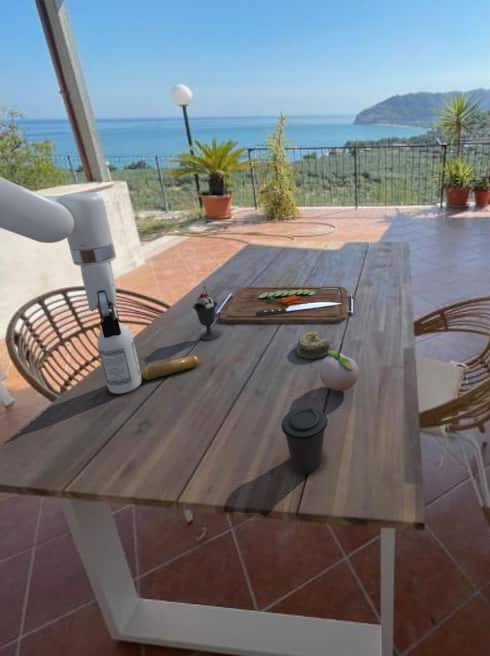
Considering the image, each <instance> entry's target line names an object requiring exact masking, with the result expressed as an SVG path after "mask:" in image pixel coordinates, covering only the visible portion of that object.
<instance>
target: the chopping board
mask: <svg viewBox="0 0 490 656" xmlns="http://www.w3.org/2000/svg"><path fill="white" fill-rule="evenodd" d="M321 288H338V289H321ZM341 289H342V290H343V293H342V290H341ZM347 291H348V290H347V288H346V287H343V286H244V287H243V286H242V287H240V288H238V289H237V291H235V293H234V294H233V293H231V292H230V293H229V294H228V295H227V297H226V298H225V300H224V301H223V302H222V303H221V305H220V307H218V309H217V310H216V311H215V316H218V315H219V314H220V315H219V321H220V323H222V324H339V323H342V322H344V321H345V320H346V318H347V313H350V314H351V315H353V314H354V298H353V299H352V293H353V292H351V294H347V293H348V292H347ZM339 293H340V295H339ZM231 297H232V298H231ZM347 297H350V302H351V303H350V310H347ZM230 298H231V299H230ZM223 308H224V309H223ZM222 309H223V310H222Z"/></svg>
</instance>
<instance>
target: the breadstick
mask: <svg viewBox="0 0 490 656" xmlns="http://www.w3.org/2000/svg"><path fill="white" fill-rule="evenodd" d="M199 361H200V359H199V357H198V356H197V355H189V356H185V357H181V358H177V359H174V360H170V361H166V362H163V363H159V364H155V365H151V366H148V367H145V368H144V369H143V370H142V371H141V377H142V380H143V379H144V380H145V381H150V380H154V379H157V378H161V377H164V376H168V375H171V374H175V373H178V372H182V371H185V370H189V369H193V368H196V367H197V366H198V365H199V363H200V362H199Z"/></svg>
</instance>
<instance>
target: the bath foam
mask: <svg viewBox="0 0 490 656" xmlns="http://www.w3.org/2000/svg"><path fill="white" fill-rule="evenodd" d="M116 310H117V308H116V306H115V307H114V311H115V315H116V318H117V312H118V311H117V312H116ZM109 311H111V309H109ZM111 312H112V311H111ZM119 321H120V320H119ZM119 321H118V322H119ZM119 326H120V330H121V334H120V335H117V336H111V337H108V338H104V335H103V331H102V328H101V329H100V331H99V333H98V337H97V343H96V345H97V351H98V354H99V359H100V362H101V365H102V371H103V373H104V378H105V382H106V385H107V388H108V391H109V392H110V393H112V394H115V395H121V394H127V393H129V392H132V391H134V390H136V389H137V388H138V387H140V385H141V384H142V382H143V378H142V375H141V374H142V371H141V368H140V363H139V358H138V353H137V350H136V349H137V348H136V345H135V340H134V337H133V334H132V333H131V331H130V330H129V329H128V328H127V327H126V326H125V325H124V324H122V323H121V322H120V323H119Z"/></svg>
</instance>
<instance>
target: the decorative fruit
mask: <svg viewBox="0 0 490 656" xmlns="http://www.w3.org/2000/svg"><path fill="white" fill-rule="evenodd" d="M327 353H328V354H327V355H326V356H325V358H323V360H322V361H321V363H320V365H319V368H318V369H319V370H318V372H319V373H318V374H319V378H320V380H321V382H322V383H323V385H324V386H325V387H326V388H327V389H330V390H333V391H336V392H345V391H348V390H350V389H351V388H352V387H353V386H354V385H355V384H357V383H356V382H357V381H358V379H359V377H360V368H359V366H358V363H357V362H356V361H355V360H354V359H353V358H351V357H349V356H345V355H344V354H343V353H341V352H339V351H337V350H331V351H328V352H327Z"/></svg>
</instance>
